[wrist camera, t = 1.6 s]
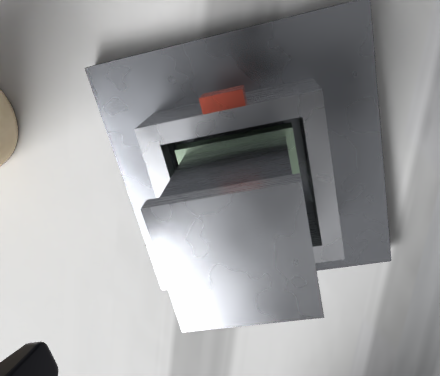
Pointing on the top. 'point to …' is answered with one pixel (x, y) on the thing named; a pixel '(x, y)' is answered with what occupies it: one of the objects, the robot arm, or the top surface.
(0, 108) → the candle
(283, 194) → the column
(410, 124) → the top surface
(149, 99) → the stand base
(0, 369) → the robot arm
